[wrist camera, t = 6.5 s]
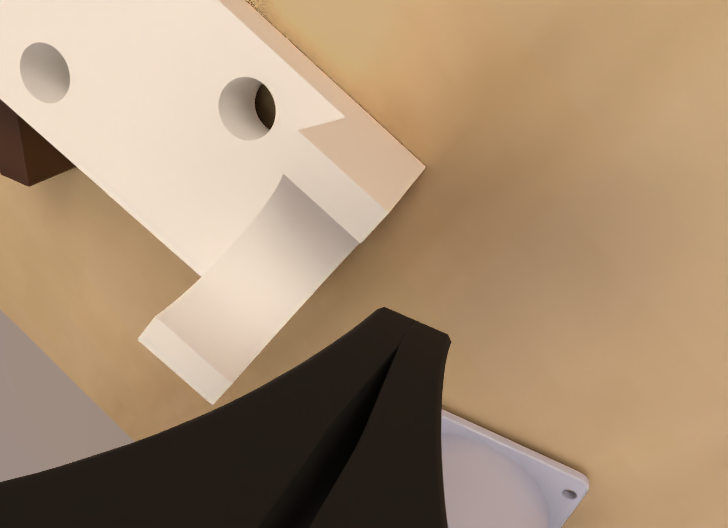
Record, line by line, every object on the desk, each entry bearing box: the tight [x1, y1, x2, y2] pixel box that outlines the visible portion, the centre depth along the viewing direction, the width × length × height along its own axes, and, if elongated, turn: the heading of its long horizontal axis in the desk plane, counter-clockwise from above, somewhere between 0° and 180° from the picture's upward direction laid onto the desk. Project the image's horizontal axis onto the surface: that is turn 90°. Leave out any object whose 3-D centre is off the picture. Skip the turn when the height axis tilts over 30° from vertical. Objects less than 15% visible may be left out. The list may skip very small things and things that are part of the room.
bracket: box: [0, 0, 426, 405], centre depth 16 cm, size 13×7×8 cm, turn 53°
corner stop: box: [0, 99, 77, 186], centre depth 17 cm, size 17×16×2 cm
